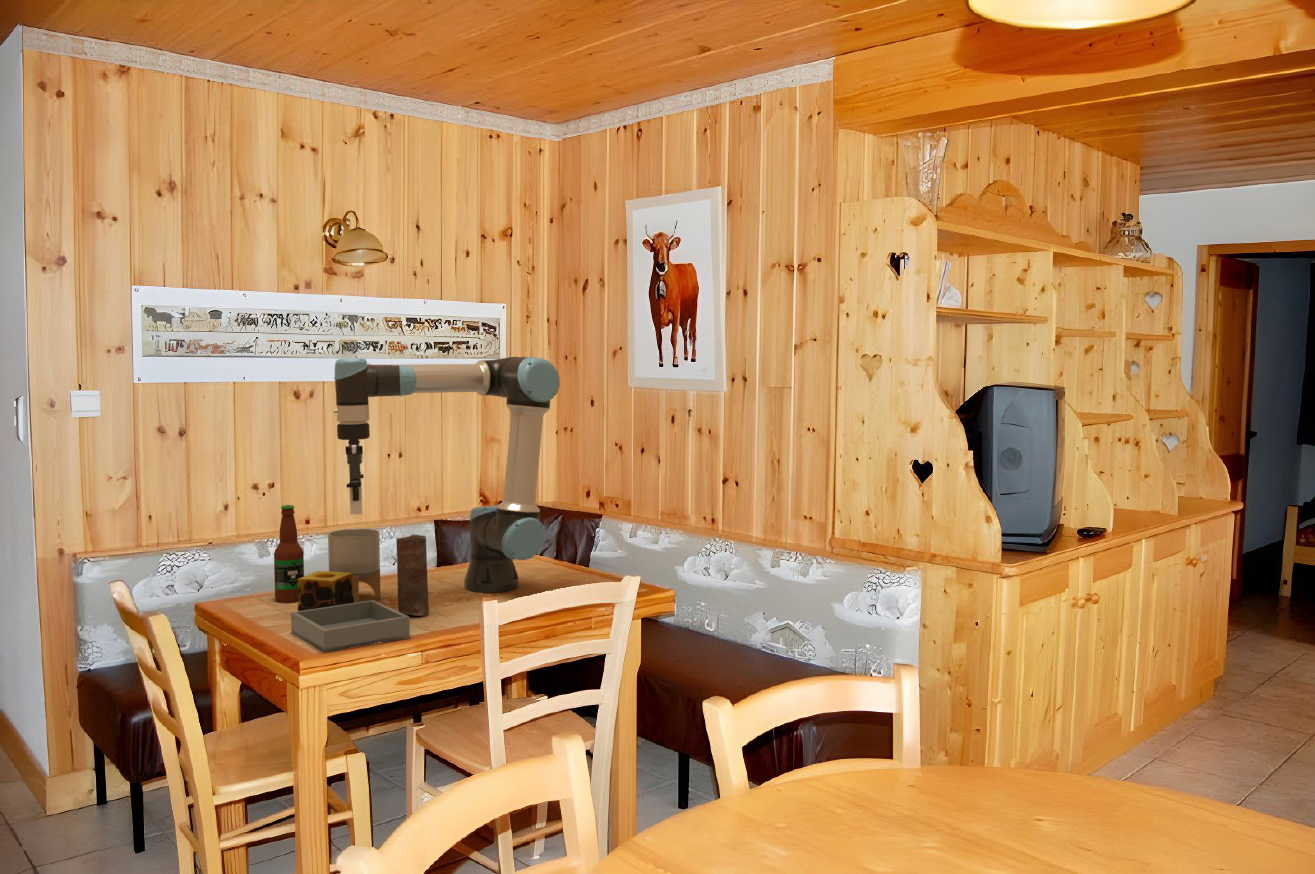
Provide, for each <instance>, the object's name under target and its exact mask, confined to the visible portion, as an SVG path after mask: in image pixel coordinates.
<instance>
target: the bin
mask: <svg viewBox="0 0 1315 874" xmlns="http://www.w3.org/2000/svg"><path fill="white" fill-rule="evenodd" d="M410 622H411V621H410V616H408V614H403V613H400V612H399V610H396V609H394V608H391V607H389V606H387V605H386V604H385V605H384V604H383V603H380V602H378V601H377V600H375V599H372V600H371V599H370V600H365V601H363V600H362V601H359V602H356V603H350V604H343V605H337V606H330V607H324V608H317V609H311V610H304V611H298V610H297V611H292V612H290V628H291V630H290V631H291V634H293V635H294V636H296V637H298V638H299V639H300V640H303V641H304V642H306V643H308V644H309V645H311V646H312V647H314V648H316V649H317V650H318V651H320V652H322V653H324V654H325V653H332V652H337V650H338V651H343V650H342V649H344V650H348V649H347V648H350V649H352V648H351V647H356V646H362V647H366V646H365V645H368V646H371V645H370V644H374V643H378V642H386V643H390V642H389V641H392V642H396V641H395V640H397V641H402V639H403V640H408V639H411V638H410V637H411V633H410ZM400 639H401V640H400ZM374 645H375V644H374ZM356 648H357V647H356ZM331 651H332V652H331Z"/></svg>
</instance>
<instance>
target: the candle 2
mask: <svg viewBox="0 0 1315 874" xmlns="http://www.w3.org/2000/svg"><path fill="white" fill-rule="evenodd" d="M427 557H428V555H427V536H426V535H421V534H415V533H414V534H411V535H409V536H404V537H397V538H396V570H397V571H396V572H397V573H396V574H397V605H398V606H397V607H398V608H397V609H398V610H397V611H398V612H400V613H402V614H405V615H412V616H416V617H417V616H418V617H426V616H428V615H429V613H430V610H429V609H430V608H429V607H430V605H429V583H428V560H427V559H428V558H427Z"/></svg>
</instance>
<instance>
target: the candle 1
mask: <svg viewBox="0 0 1315 874" xmlns="http://www.w3.org/2000/svg"><path fill="white" fill-rule="evenodd" d="M352 577H353V574H352V573H349V572H330V571H329V570H328V571H327V570H317V571H315V572H312V573H309V574H307V575H304V577H302V578H299V579H298V585H299V592H298V594H299V602H298V606H297V611H304V610H311V609H317V608H324V607H330V606H337V605H343V604H350V603H354V599H353V598H354V596H353V585H352V582H353V581H352Z"/></svg>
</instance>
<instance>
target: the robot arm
mask: <svg viewBox="0 0 1315 874" xmlns="http://www.w3.org/2000/svg"><path fill="white" fill-rule="evenodd" d="M333 379H334V387H335V388H334V389H335V404H336V408H335V409H333V413H334V414H336V422H338V424H337V425H336V431H337V432H336V433H337V434H336V435H337V436H336V437H337V439H338V440H340V441H348V442H347V443H348V444H347V446H346V445H345V455H346V463H347V465H348V468H349V471H348V473H349V482H348V483H346V488H348V489H349V507H350V509H349V511H350V516H351V515H352V516H353V515H363V494H362V493H363V492H362V489H363V488H362V479H364V477H365V475H364V473H362V472H361V464H362V463H363V458H362V457H363V456H362V455H363V451H364V449H363V445H360V440H367V439H369V438H370V436H371V435H370V431H371V430H370V423H368V421H370V404H369V402H370V401H369V398H374V397H375V398H376V397H379V398H380V397H403V396H410V395H413V394H426V393H427V394H428V393H429V394H430V393H433V394H437V393H441V394H442V393H477V394H478V395H479V396H492V397H500V398H506V404H505V405H506V407H507V409H508V410H509V411H510V421H509V423H510V425H509V433H508V445H507V457H506V464H505V465H506V466H505V476H504V477H505V478H504V487H503V488H504V491H503V497H502V498H503V499H502V502H501V503H499V504H497V505H484V506H476V507H473V508H472V509H471V510H470V513H469V514H470V515H469V534H470V535H469V537H470V538H469V541H470V543H469V544H470V547H469V549H470V550H469V551H470V553H469V554H470V561H469V564H468V566H467V570H466V574H465V577H464V589H465V590H466V591H469V592H475V593H483V594H484V593H485V594H489V593H490V594H491V593H493V594H494V593H495V594H496V593H504V592H511V591H513V590H517V589H518V588H519V587H520V579H519V576H518V571H517V569H516V566H515V563H514V560H519V561H526V560H527V561H528V560H530V559H532V558H533V557H535V556H537V554H538V553H539V552H540V551H541V550H542V549H543V546H544V544H545V541H546V530H545V527H544V525H543V524H542V522H541V521H540V516H541V509H540V508H539V507H538V506H537V504H536V497H537V488H538V487H537V486H538V475H539V465H540V453H541V444H542V443H541V442H542V435H543V434H542V433H543V432H542V431H543V423H544V422H543V421H544V415H545V414H546V413H547V412H549V411H550V406H551V400H553V399H554V397H555V396H556V395H557V394H558V392H559V390H560V383H561V380H560V375H559V372H558V370H557V368H556V367H555V366H554V364H553V363H552V362H551V361H549V360H547V359H545V358H542V357H537V356H520V357H519V356H509V357H503V358H502V357H501V358H497V359H487V360H484V359H481V360H478V361H477V362H476V363H460V364H458V363H441V364H438V363H436V364H433V363H432V364H431V363H428V364H427V363H425V364H423V363H422V364H420V363H419V364H416V363H415V364H412V363H411V364H409V363H408V364H371V363H368V361H367V359H366V358H362V357H360V358H339V359H336V361H335V363H334V378H333ZM487 592H488V593H487Z"/></svg>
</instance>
